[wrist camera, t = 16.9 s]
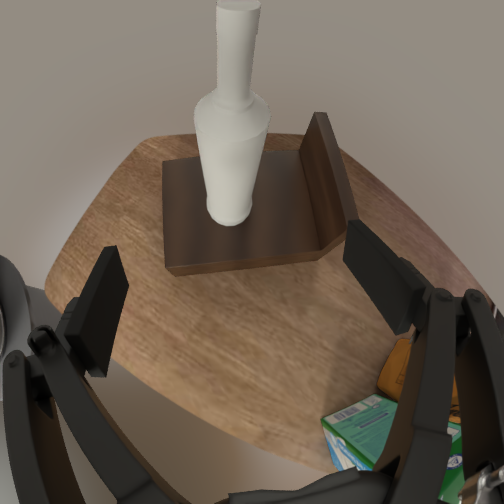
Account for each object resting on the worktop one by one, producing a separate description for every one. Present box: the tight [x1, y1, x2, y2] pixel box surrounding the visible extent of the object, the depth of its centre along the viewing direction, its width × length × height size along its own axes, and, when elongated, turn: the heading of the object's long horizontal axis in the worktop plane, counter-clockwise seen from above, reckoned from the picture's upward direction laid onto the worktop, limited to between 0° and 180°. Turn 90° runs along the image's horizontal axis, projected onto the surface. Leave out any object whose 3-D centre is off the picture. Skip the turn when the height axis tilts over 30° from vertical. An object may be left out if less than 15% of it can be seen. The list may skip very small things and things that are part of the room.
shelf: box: [162, 112, 359, 277], centre depth 33 cm, size 20×14×14 cm
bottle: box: [194, 0, 271, 226], centre depth 21 cm, size 5×5×25 cm
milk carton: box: [321, 394, 465, 504], centre depth 21 cm, size 9×9×25 cm
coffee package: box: [377, 339, 460, 423], centre depth 25 cm, size 10×12×22 cm
